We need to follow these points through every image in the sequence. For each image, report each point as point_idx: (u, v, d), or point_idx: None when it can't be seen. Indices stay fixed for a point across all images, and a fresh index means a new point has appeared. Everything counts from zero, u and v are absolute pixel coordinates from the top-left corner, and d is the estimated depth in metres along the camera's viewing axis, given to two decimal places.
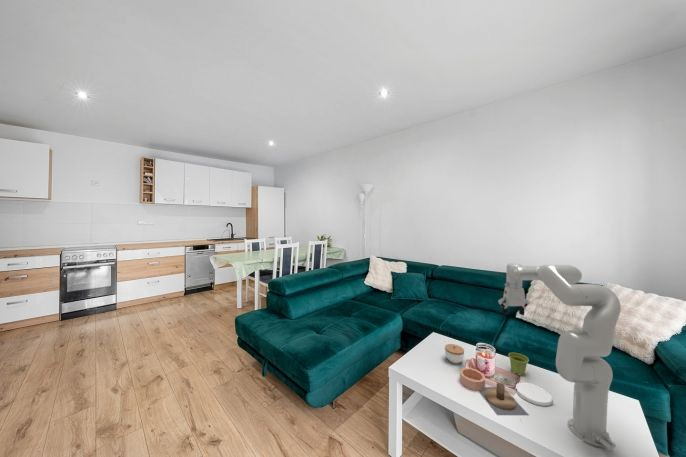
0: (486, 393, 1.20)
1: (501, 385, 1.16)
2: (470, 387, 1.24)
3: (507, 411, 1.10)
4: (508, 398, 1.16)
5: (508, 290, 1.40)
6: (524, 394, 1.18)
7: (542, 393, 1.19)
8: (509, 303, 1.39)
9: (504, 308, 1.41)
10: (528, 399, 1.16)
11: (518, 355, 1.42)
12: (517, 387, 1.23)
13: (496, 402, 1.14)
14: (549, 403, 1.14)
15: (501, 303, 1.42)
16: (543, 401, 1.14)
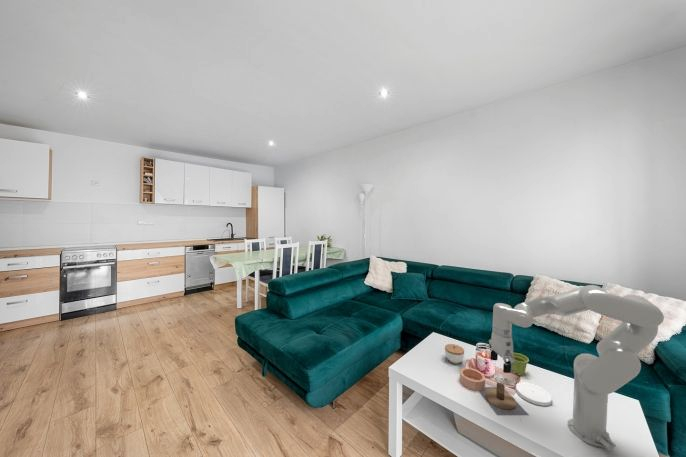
0: (486, 393, 1.20)
1: (501, 385, 1.16)
2: (470, 387, 1.24)
3: (507, 411, 1.10)
4: (508, 398, 1.16)
5: (511, 340, 1.12)
6: (524, 394, 1.18)
7: (542, 393, 1.19)
8: None
9: (510, 365, 1.11)
10: (528, 399, 1.16)
11: (518, 355, 1.42)
12: (517, 387, 1.23)
13: (496, 402, 1.14)
14: (549, 403, 1.14)
15: None
16: (543, 401, 1.14)
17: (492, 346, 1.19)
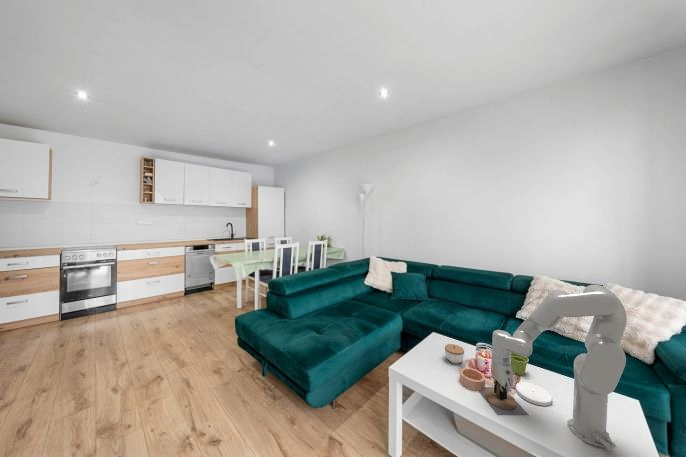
0: (486, 393, 1.20)
1: None
2: (470, 387, 1.24)
3: (507, 411, 1.10)
4: (508, 398, 1.16)
5: (511, 368, 1.12)
6: (524, 394, 1.18)
7: (542, 393, 1.19)
8: None
9: (506, 391, 1.14)
10: (528, 399, 1.16)
11: (518, 355, 1.42)
12: (517, 387, 1.23)
13: (496, 402, 1.14)
14: (549, 403, 1.14)
15: None
16: (543, 401, 1.14)
17: (492, 373, 1.20)
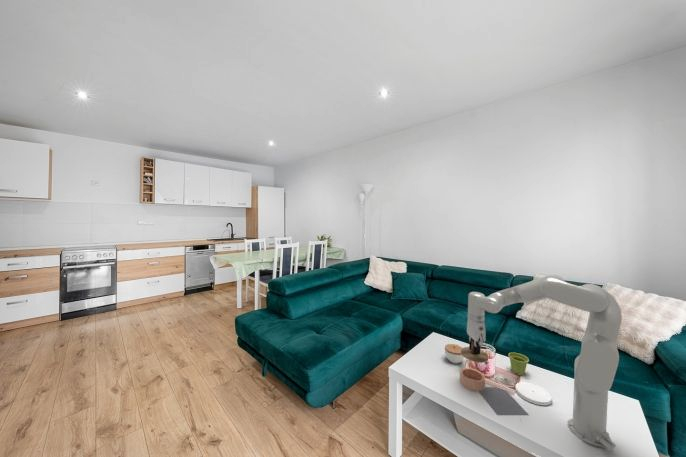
0: (462, 350, 1.30)
1: None
2: (470, 387, 1.24)
3: (507, 411, 1.10)
4: (481, 353, 1.27)
5: (484, 325, 1.22)
6: (524, 394, 1.18)
7: (541, 392, 1.19)
8: None
9: (479, 347, 1.24)
10: (528, 399, 1.16)
11: (518, 355, 1.42)
12: (517, 387, 1.23)
13: (470, 356, 1.24)
14: (549, 403, 1.14)
15: None
16: (543, 401, 1.14)
17: (468, 331, 1.30)
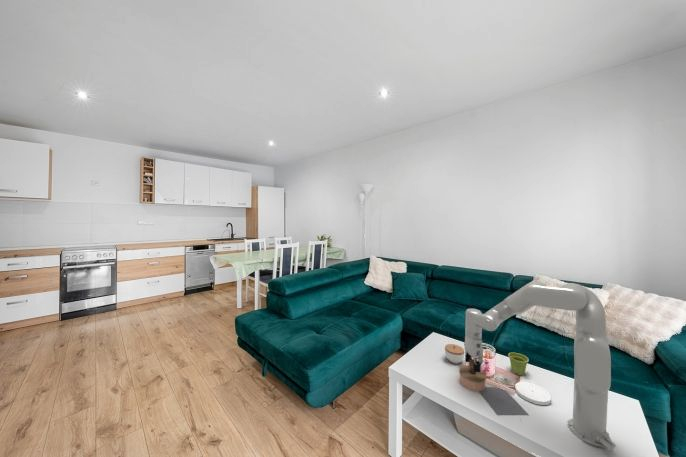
0: (460, 369, 1.32)
1: (473, 361, 1.28)
2: (470, 387, 1.24)
3: (507, 411, 1.10)
4: (479, 373, 1.28)
5: (481, 342, 1.24)
6: (524, 394, 1.19)
7: (541, 392, 1.20)
8: None
9: (479, 364, 1.23)
10: (528, 399, 1.16)
11: (518, 355, 1.42)
12: (516, 387, 1.23)
13: (468, 376, 1.26)
14: (548, 402, 1.14)
15: None
16: (542, 400, 1.14)
17: (465, 348, 1.31)
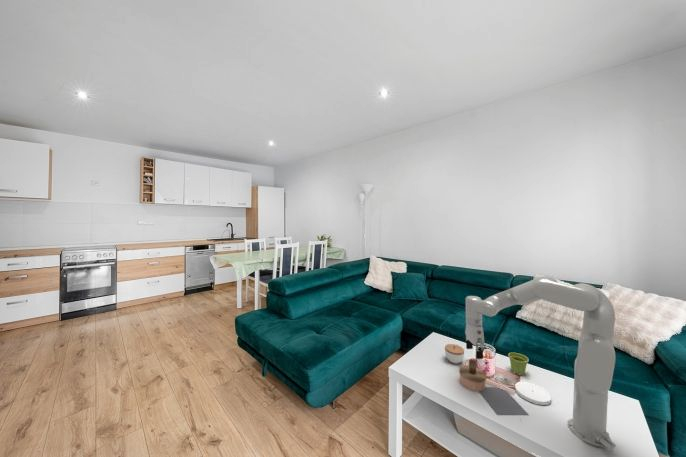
0: (460, 369, 1.32)
1: (473, 361, 1.28)
2: (470, 387, 1.24)
3: (507, 411, 1.10)
4: (479, 373, 1.28)
5: (482, 328, 1.23)
6: (524, 393, 1.19)
7: (541, 392, 1.20)
8: None
9: (482, 351, 1.22)
10: (528, 398, 1.16)
11: (518, 355, 1.42)
12: (516, 386, 1.23)
13: (468, 376, 1.26)
14: (548, 402, 1.14)
15: None
16: (542, 400, 1.14)
17: (467, 336, 1.31)
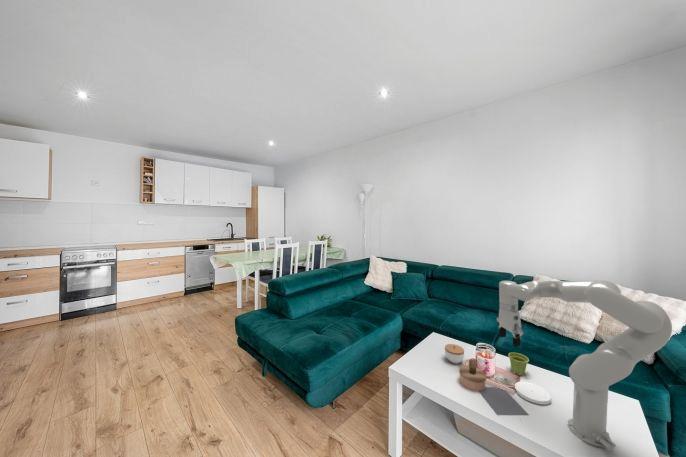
0: (460, 369, 1.32)
1: (473, 361, 1.28)
2: (470, 387, 1.24)
3: (507, 411, 1.10)
4: (479, 373, 1.28)
5: (518, 314, 1.17)
6: (523, 393, 1.19)
7: (540, 391, 1.20)
8: None
9: (519, 338, 1.16)
10: (528, 398, 1.16)
11: (518, 355, 1.42)
12: (516, 386, 1.24)
13: (468, 376, 1.26)
14: (548, 402, 1.14)
15: None
16: (542, 400, 1.14)
17: (500, 323, 1.25)
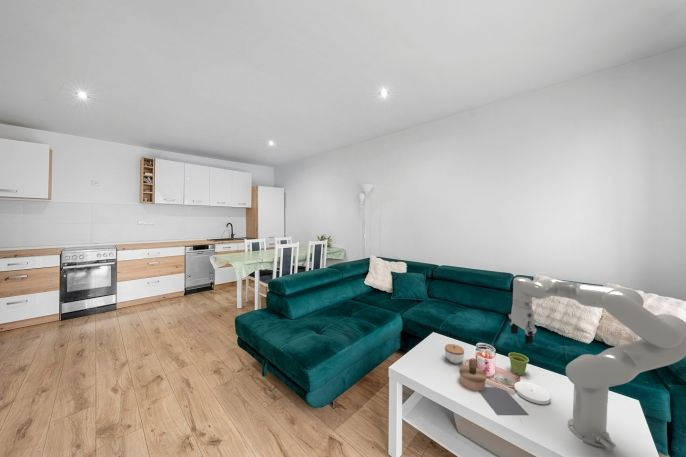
0: (460, 369, 1.32)
1: (473, 361, 1.28)
2: (470, 387, 1.24)
3: (507, 411, 1.10)
4: (479, 373, 1.28)
5: (532, 311, 1.15)
6: (523, 393, 1.19)
7: (540, 391, 1.20)
8: None
9: (532, 335, 1.14)
10: (528, 398, 1.16)
11: (518, 355, 1.42)
12: (516, 386, 1.24)
13: (468, 376, 1.26)
14: (548, 401, 1.14)
15: None
16: (542, 399, 1.15)
17: (512, 319, 1.23)
